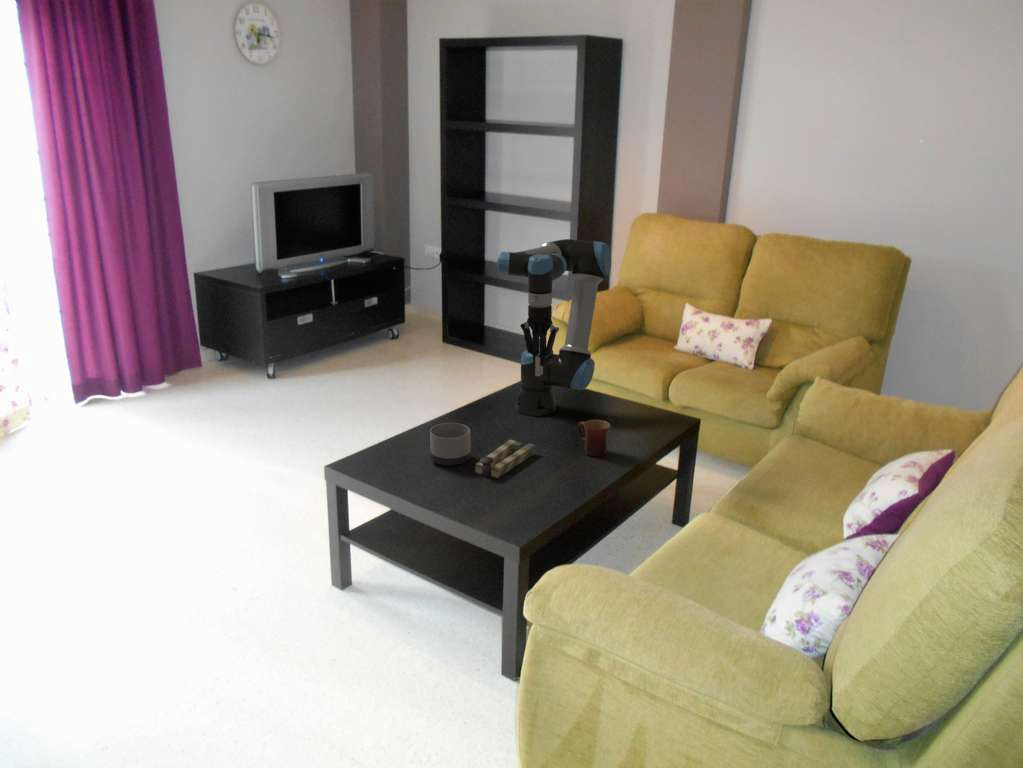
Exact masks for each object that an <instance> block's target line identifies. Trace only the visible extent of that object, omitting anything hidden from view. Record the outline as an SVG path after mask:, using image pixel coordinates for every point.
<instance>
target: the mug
mask: <svg viewBox="0 0 1023 768" xmlns="http://www.w3.org/2000/svg"><path fill="white" fill-rule="evenodd" d="M582 426H583V427H584V432H585V435H584V433H583V429H582ZM611 426H612V425H611V424H610V423H609V422H608V421H606V420H603V419H589V420H586V421H582V420H581V421H579V422H578V423H577V433H578V436H579V437H580V438H581V439H582V441H584V452H585V454H587V455H588V456H589V457H593V458H595V457H596V458H598V457H599V458H600V457H603V456H605V455H606V454H607V451H608V443H609V442H608V441H609V440H608V438H609V431H610V429H611Z"/></svg>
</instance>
